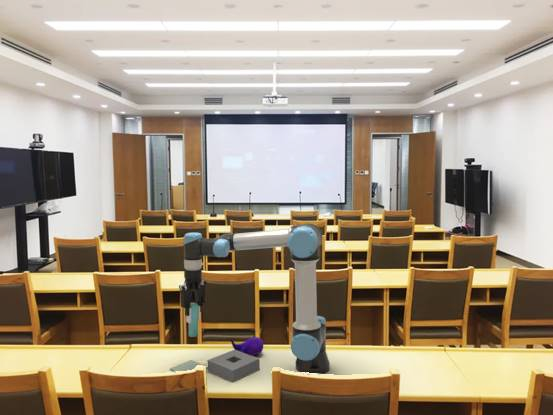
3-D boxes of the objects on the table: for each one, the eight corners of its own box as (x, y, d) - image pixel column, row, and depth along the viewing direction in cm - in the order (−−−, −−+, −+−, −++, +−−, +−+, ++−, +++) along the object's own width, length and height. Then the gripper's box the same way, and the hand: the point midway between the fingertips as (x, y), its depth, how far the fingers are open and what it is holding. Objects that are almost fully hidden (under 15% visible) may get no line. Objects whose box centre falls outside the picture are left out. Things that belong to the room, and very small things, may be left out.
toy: (232, 361, 218) (264, 357, 218) (229, 341, 217) (261, 337, 218) (233, 353, 227) (264, 349, 227) (231, 334, 226) (262, 330, 226)
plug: (199, 335, 206) (199, 304, 205) (192, 337, 203) (192, 306, 202) (194, 333, 208) (193, 302, 207) (186, 335, 206) (186, 304, 204)
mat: (208, 368, 207) (208, 367, 207) (186, 377, 199) (186, 376, 199) (191, 361, 215) (191, 359, 215) (169, 369, 207) (169, 368, 207)
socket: (259, 369, 206) (259, 358, 205) (232, 382, 194) (232, 370, 194) (234, 360, 217) (234, 349, 216) (207, 371, 205) (207, 360, 204)
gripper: (202, 264, 212) (203, 315, 214) (171, 270, 199) (171, 324, 201) (213, 266, 207) (213, 318, 209) (182, 273, 194) (182, 328, 196)
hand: (193, 321), depth 205 cm, fingers closed on plug, 4 cm apart
